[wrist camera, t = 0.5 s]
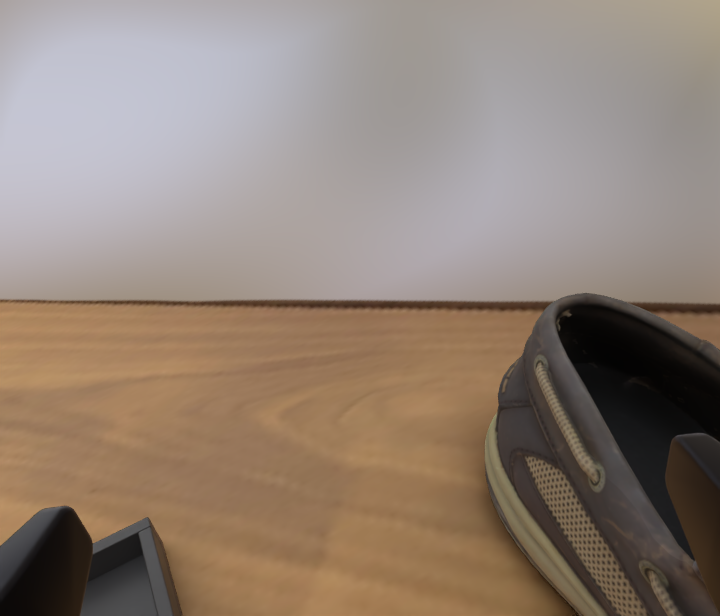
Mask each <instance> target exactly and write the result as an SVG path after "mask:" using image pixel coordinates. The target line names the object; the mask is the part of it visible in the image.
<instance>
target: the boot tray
mask: <svg viewBox="0 0 720 616" xmlns="http://www.w3.org/2000/svg"><path fill="white" fill-rule="evenodd" d="M80 616H183V615H182V612H181V608H180V604H179V601H178V597H177V593H176V590H175V586H174V583H173V579H172V575H171V572H170V568H169V564H168V561H167V557H166V553H165V550H164V546H163V542H162V540H161V539H160V537H159V535H158V533H157V532H156V530H155V528H154V526H153V525H152V523H151V521H150V519H149V518H148V517H147V518H145V519H143V520H141V521H139V522H136V523H134V524H132V525H130V526H128V527H126V528H124V529H122V530H120V531H118V532H116V533H114V534H112V535H110V536H108V537H106V538H104V539H102V540H100V541H98V542H96V543H94V544H93V555H92V560H91V565H90V570H89V575H88V580H87V585H86V589H85V594H84V599H83V604H82V609H81V614H80Z"/></svg>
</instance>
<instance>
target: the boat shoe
mask: <svg viewBox="0 0 720 616" xmlns="http://www.w3.org/2000/svg"><path fill="white" fill-rule="evenodd" d="M498 402H499V406H498V412H497V413H496V415H495V416H494V418H493V420H492V422H491V424H490V426H489V429H488V432H487V436H486V440H485V451H484V452H485V470H486V480H487V483H488V488H489V492H490V496H491V499H492V501H493V504H494V506H495V508H496V510H497V512H498V515H499V517H500V519H501V520H502V522H503V524H504V526H505V527H506V529H507V530H508V532H509V533H510V535H511V536H512V538H513V539H514V541H515V542H516V544H517V545H518V547H519V548H520V550H521V551H522V552H523V553H524V554H525V556H526V557H527V558H528V560H529V561H530V562H531V563H532V564H533V566H534V567H535V568H536V569H537V570H538V571H539V572H540V574H541V575H542V576H543V577H544V578H545V579H546V580H547V581H548V582H549V583H550V584H551V585H552V586H553V587H554V588H555V590H556V591H557V592H558V593H559V594H560V595H561V596H562V597H563V598H564V599H565V600H566V601H567V602H568V603H569V604H570V605H571V606H572V607H573V608H574V610H575V611H576V612H577V613H578V614H579V615H580V616H720V615H719V613H718V611H717V609H716V607H715V605H714V603H713V601H712V599H711V597H710V595H709V593H708V590H707V588H706V585H705V583H704V581H703V578H702V576H701V573H700V571H699V568H698V566H697V563H696V561H695V558H694V556H693V553H692V551H691V548H690V546H689V543H688V541H687V538H686V536H685V533H684V531H683V528H682V526H681V523H680V520H679V518H678V515H677V513H676V510H675V508H674V505H673V503H672V500H671V498H670V495H669V493H668V490H667V486H666V481H665V473H666V467H667V462H668V456H669V451H670V445H671V442H672V439H673V438H674V437H675V436H677V435H684V434H693V433H704V434H707V435H709V436H711V437H713V438H714V439H716V440H717V441H719V442H720V350H719V349H718V348H716V347H715V346H714V345H713V344H712V343H710V342H709V341H706V340H701V339H699V338H697V337H695V336H694V335H692V334H690V333H688V332H686V331H685V330H683V329H681V328H679V327H677V326H676V325H674V324H672V323H670V322H668V321H666V320H664V319H662V318H660V317H658V316H656V315H654V314H652V313H650V312H648V311H646V310H644V309H642V308H639V307H637V306H634V305H632V304H629V303H627V302H624V301H621V300H618V299H614V298H611V297H607V296H602V295H597V294H589V293H583V294H575V295H570V296H566V297H563V298H560V299H558V300H556V301H554V302H553V303H551V304H550V305H549V306H548V307H547V308H546V309H545V310H544V312H543V313H542V314H541V316H540V317H539V319H538V320H537V322H536V323H535V326H534V328H533V331H532V334H531V335H530V337H529V338H528V340H527V342H526V344H525V348H524V352H523V354H522V356H521V357H520V358H519V359H518V360H517V361H516V362H515V363H514V364H512V365H511V366H510V368H509V369H508V371H507V372H506V373H505V375H504V377H503V379H502V382H501V384H500V388H499V393H498Z"/></svg>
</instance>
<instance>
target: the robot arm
mask: <svg viewBox="0 0 720 616" xmlns="http://www.w3.org/2000/svg"><path fill="white" fill-rule="evenodd" d="M665 481H666V486H667V490H668V493H669V495H670V498H671V500H672V503H673V505H674V508H675V510H676V513H677V515H678V518H679V520H680V523H681V526H682V528H683V531H684V533H685V536H686V538H687V541H688V543H689V546H690V548H691V551H692V553H693V556H694V558H695V561H696V563H697V566H698V568H699V571H700V573H701V576H702V578H703V581H704V583H705V585H706V588H707V590H708V593H709V595H710V597H711V599H712V601H713V603H714V605H715V607H716V609H717V611H718V613H719V615H720V442H719V441H717V440H716V439H714V438H713V437H711V436H709V435H707V434H704V433H693V434H684V435H677V436H675V437H674V438H673V439H672V442H671V445H670V451H669V456H668V462H667V467H666V473H665ZM92 555H93V543H92V539H91V537H90V535H89V533H88V532H87V530H86V529H85V527H84V525H83V524H82V522H81V520H80V519H79V517H78V515H77V514H76V512H75V511H74V509H72V508H71V507H69V506H60V507H51V508H45V509H42V510H40V511H39V512H38V513H36V514H35V515H34V516H33V517H32V518H31V519H30V520H29V521H27V522H26V523H25V524H24V525H23V526H22V527H21V528H20V529H19V530H18V531H16V532H15V533H14V534H13V535H12V536H11V537H10V538H9V539H8V540H7V541H5V542H4V543H3V544H2V545H1V546H0V616H80V614H81V609H82V604H83V599H84V594H85V589H86V585H87V580H88V575H89V570H90V565H91V560H92Z"/></svg>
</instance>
